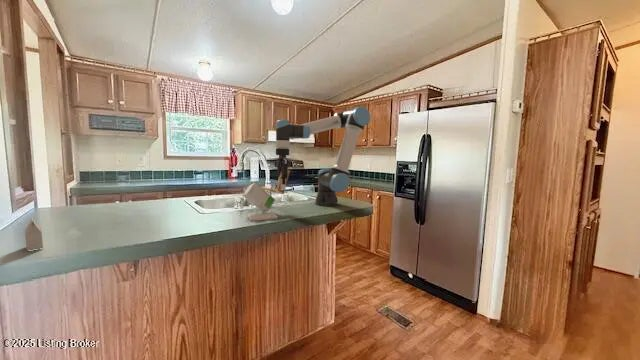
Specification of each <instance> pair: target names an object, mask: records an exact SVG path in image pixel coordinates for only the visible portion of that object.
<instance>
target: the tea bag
mask: <svg viewBox="0 0 640 360" xmlns="http://www.w3.org/2000/svg"><path fill="white" fill-rule="evenodd" d="M24 235H25V246H26V247H27V248H26V251H27V250H33V249H40V248H43V249H44V246H43V234H42V230H41V228H40V226H39V225H38V224H37V223H36V222H35V220H34V218H33V217H32V218H30V221H29V223H28V224H27V226H26V227H25V230H24Z"/></svg>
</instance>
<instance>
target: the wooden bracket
mask: <svg viewBox="0 0 640 360" xmlns="http://www.w3.org/2000/svg"><path fill="white" fill-rule="evenodd" d="M290 173H291V170H290V169H287V178H286V185H287V184H288V180H289V176H290ZM278 178H279V179H278V180H277V182H276V187H275V189H274V188H271V187H266V186H263V185H261V186H260V187H261V188H262V189H263V190H265V191H268V192H273V193H277V194H281V195H285V191H286V190H281V179H280V178H281V172H280V176H279V177H278Z"/></svg>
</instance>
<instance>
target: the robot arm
mask: <svg viewBox="0 0 640 360" xmlns="http://www.w3.org/2000/svg"><path fill="white" fill-rule="evenodd" d="M370 121H371V113H370V111H369V110H368V108H366V107H364V106H356V107H352V108H348V109H345V110H344V111H341V112H339V113H334V115H333V116H328V117H324V118H321V119H317V120H314V121H310V122H304V123H302V124H291V121H290V120H287V119H279V120H278V119H277V121H276V124H275V126H276V127H275V142H274V144H275V155H276V156H278V158H277V159H276V161H277V163H276V164H277V167H276V168H277V169H276V171H277V172H276V173H277V178H278V179H279V176H280V172H281V178H280V179H281V190H285V191H286V189H287V188H286V186H287V184H286V178H287V170H288V165H289V160H288V159H287V156H290V144H291V143H290V140H296V139H302V140H304V139H309V138H310V137H311V135H314V134H318V133H321V132H326V131H329V130H333V129H344V128H345V133H344V136H343V140H342V142H341V144H340V147H339V150H338V151H339V152H338V154H337V158H336V161H335V164H334V165H333V166H331V168H328V169H326V168H325V169H320V170H319V171H318V177H317V179H318V180H317V181H318V182H317V187H318V188H317V194H316V197H315V201H314V203H315V205H317V206H323V207H330V206H331V207H332V206H337V204H339V200H338V196H337V193H343V192H344V191H345V192H346V190H347V189H348V188H349V186H350V177H349V176H350V171H349V167H350V165H351V162H352V159H353V155H354V152H355V149H356V146H357V143H358V139H359V136H360V134H361V133H363V132H364V129H365V126H367V125H368V124H369V123H370Z"/></svg>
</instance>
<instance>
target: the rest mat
mask: <svg viewBox="0 0 640 360" xmlns="http://www.w3.org/2000/svg"><path fill="white" fill-rule="evenodd" d="M246 217H247V219H248V220H249V221H252V222H253V221H264V220H276V219H278V217H279V216H278V215H277V214H276V213H274V212H267V213H266V212H264V213H254V214H246Z"/></svg>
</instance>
